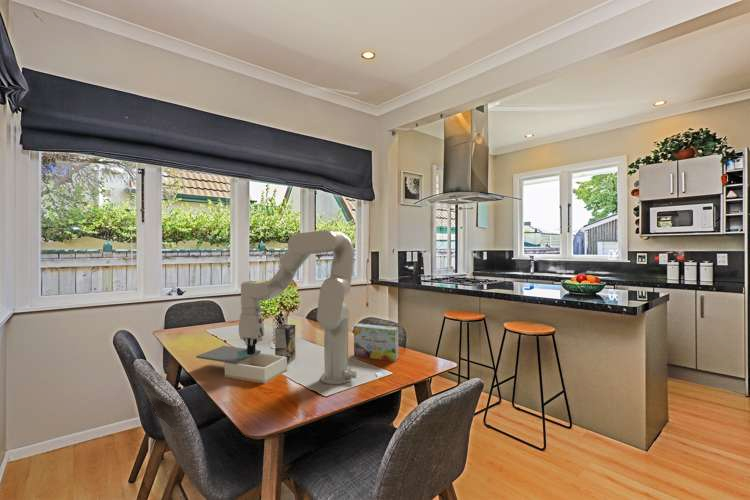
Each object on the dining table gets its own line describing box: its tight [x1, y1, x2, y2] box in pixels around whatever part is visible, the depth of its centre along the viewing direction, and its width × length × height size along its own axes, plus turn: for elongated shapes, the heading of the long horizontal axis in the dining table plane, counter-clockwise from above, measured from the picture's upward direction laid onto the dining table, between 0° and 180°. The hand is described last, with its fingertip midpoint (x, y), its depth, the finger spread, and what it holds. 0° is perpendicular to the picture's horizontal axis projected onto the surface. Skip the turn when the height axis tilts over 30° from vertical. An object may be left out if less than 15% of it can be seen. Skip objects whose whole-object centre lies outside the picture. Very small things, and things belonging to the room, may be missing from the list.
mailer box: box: [224, 352, 288, 384], centre depth 159 cm, size 20×15×6 cm
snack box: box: [353, 323, 399, 362], centre depth 179 cm, size 21×6×15 cm, turn 68°
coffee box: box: [274, 324, 297, 365], centre depth 174 cm, size 9×6×16 cm
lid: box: [195, 345, 261, 364], centre depth 164 cm, size 21×16×4 cm
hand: (251, 353), depth 159 cm, fingers closed
